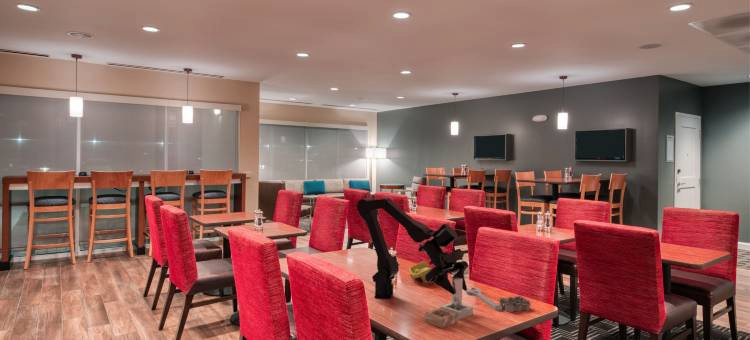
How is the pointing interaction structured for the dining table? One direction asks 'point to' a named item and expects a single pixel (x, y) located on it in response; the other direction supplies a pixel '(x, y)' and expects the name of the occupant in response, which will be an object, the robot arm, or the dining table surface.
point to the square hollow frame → (461, 313)
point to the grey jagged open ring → (514, 304)
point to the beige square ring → (441, 317)
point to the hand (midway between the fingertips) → (460, 292)
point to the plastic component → (420, 270)
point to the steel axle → (457, 293)
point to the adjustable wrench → (483, 298)
